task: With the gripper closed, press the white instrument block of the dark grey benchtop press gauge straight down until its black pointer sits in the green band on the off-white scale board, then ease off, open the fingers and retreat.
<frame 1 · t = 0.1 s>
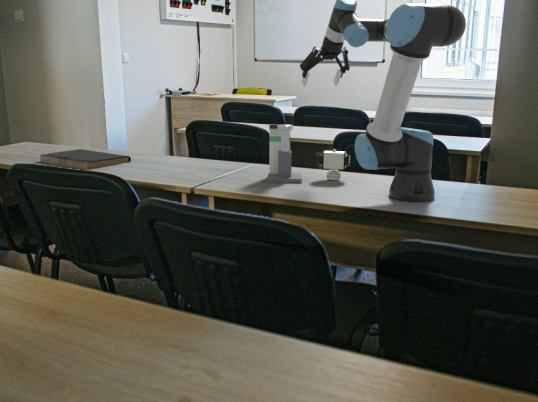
hand: (319, 83, 228), 36 cm above the table, tool tilted 35°, fingers open, 13 cm apart
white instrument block: (281, 139, 220), point 15 cm above the table, slide at 0.0 cm
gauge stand: (284, 179, 224), on the table
brown book: (85, 163, 260), on the table
pneumatic valve: (333, 180, 224), on the table
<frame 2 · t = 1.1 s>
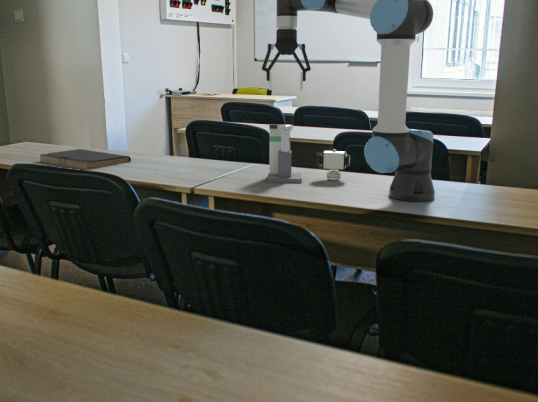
hand: (285, 90, 215), 34 cm above the table, tool pointing down, fingers open, 11 cm apart
nothing on the table moved.
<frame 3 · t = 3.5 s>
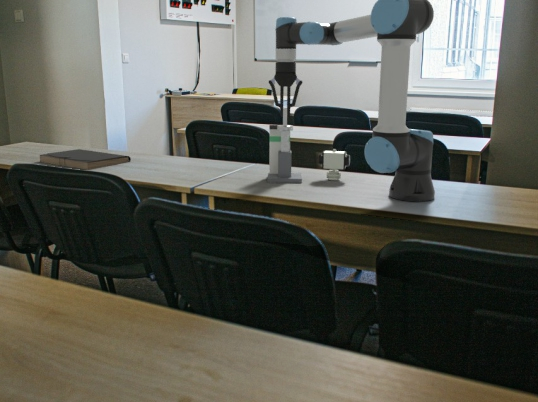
hand: (284, 125, 219), 21 cm above the table, tool pointing down, fingers closed
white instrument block: (281, 140, 220), point 15 cm above the table, slide at 0.2 cm, touching gripper
everything else where it was.
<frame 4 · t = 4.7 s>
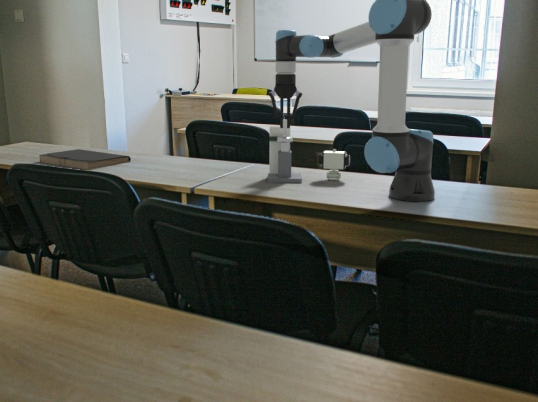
hand: (284, 136, 220), 17 cm above the table, tool pointing down, fingers closed
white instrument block: (280, 151, 221), point 11 cm above the table, slide at 4.6 cm, touching gripper
everything else where it was.
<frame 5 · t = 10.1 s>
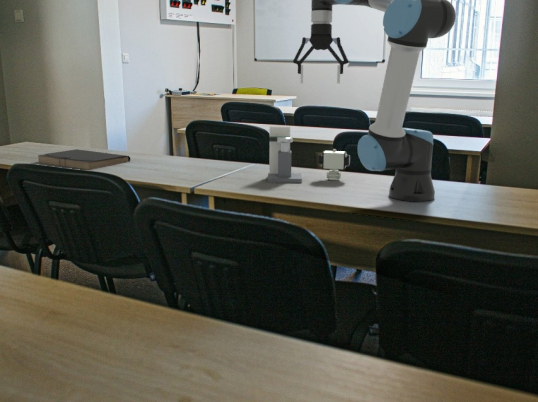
hand: (320, 83, 214), 37 cm above the table, tool pointing down, fingers open, 13 cm apart
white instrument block: (280, 152, 221), point 11 cm above the table, slide at 4.8 cm
everything else where it was.
at the end: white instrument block slide at 4.8 cm; the gripper is holding nothing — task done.
